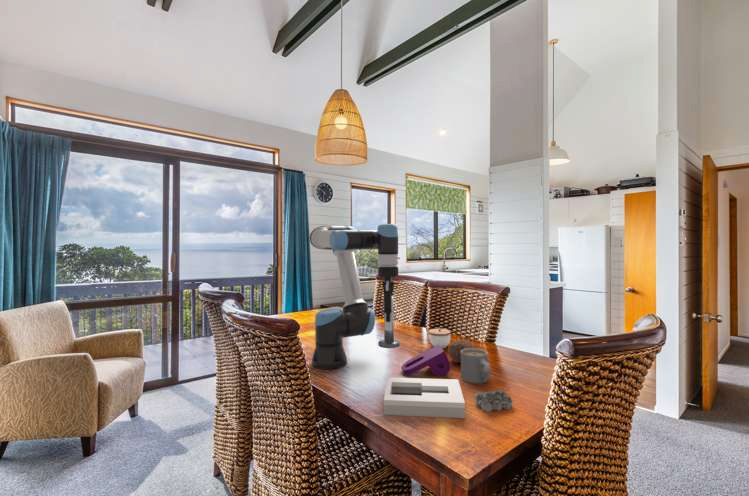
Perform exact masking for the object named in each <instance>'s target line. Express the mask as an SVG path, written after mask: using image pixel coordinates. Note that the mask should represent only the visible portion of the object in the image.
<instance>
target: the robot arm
mask: <svg viewBox="0 0 749 496" xmlns="http://www.w3.org/2000/svg"><path fill="white" fill-rule="evenodd" d="M398 227H399V226H398V225H397V224H396V223H395V224H394V223H379V224H378V226H377V229H374V230H372V229H371V230H370V229H369V230H368V229H367V230H364V229H362V230H361V229H360V230H357V229H356V228H355V227H353V226H352V225H321V226H318V227H314V229H313V230H311V232H310V234H309V238H308V239H309V242H310V245H311V246H312V247H314V248H316V249H319V250H324V251H325V250H326V251H327V250H328V251H329V250H330V251H331V250H332V254H333V255H334V256H335V257H336V260H337V265H338V270H339V271H338V273H339V277H340V281H341V283H340V284H341V287H342V294H343V299H344V305H343V306H342V308H341V307H329V308H325V309H321V310H319V311H317V312H316V314H315V317H314V329H315V330H314V331H315V348H314V350H313V353H312V357H311V366H312V367H314V368H316V369H320V370H332V369H339V368H341V367H344V366H346V364H347V363H348V359H347V358H348V357H347V354H346V351H345V349H344V345H343V339H344V338H350V337H357V336H358V337H359V336H364V335H369V334H371V333H372V332H373V330H374V328H375V325H376V324H375V323H376V315H375V311H374V309H373V308H372V307H369V305H368V302H366V301H365V300H364V296H363V292H362V287H361V281H360V276H359V271H358V266H357V261H356V256H355V255H356V252H357V251H358V250H359V251H361V250H362V251H363V250H367V251H368V250H374V251H375V250H377V265H378V267H377V275H378V277H380V278H384V280H383V281H382V287H383V310H382V314H384V313H385V330H392V296H393V297H394V287H395V281H394V280H393V278H396V277H398V276H399V266H397V265H399V260H400V259H401V257H400V256H399V230H398V229H399V228H398ZM395 308H396V307H394V310H396V309H395Z"/></svg>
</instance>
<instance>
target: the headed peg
mask: <svg viewBox="0 0 749 496" xmlns="http://www.w3.org/2000/svg"><path fill="white" fill-rule="evenodd" d="M394 298H395V297H394V295H393V296H392V330H385V313H383V320H384V321H383V334H384V336H383V337H384V339H381V340H379V341H378V345H377V346H379V347H380V348H383V349H395V348H399V347H400V346H401V342H400V340H398V339H395V316H394V315H395V314H394V313H395V312H394V303H395V302H394Z"/></svg>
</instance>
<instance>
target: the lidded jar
mask: <svg viewBox="0 0 749 496" xmlns="http://www.w3.org/2000/svg"><path fill="white" fill-rule="evenodd" d="M451 335H452V331H451V330H450V329H446V328H441V327H438V328H432V329H429V330H428V336H429V337H428V338H429V342H430V344H431V345H432V347H435V346H436V345H439V346H440V347H441V348H442V349H446V348H447V346H449V344H450V342H451Z"/></svg>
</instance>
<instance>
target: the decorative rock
mask: <svg viewBox="0 0 749 496" xmlns="http://www.w3.org/2000/svg"><path fill="white" fill-rule="evenodd" d="M466 348H476V346H475V345H474V344H473V343H472V342H470V341H469V340H468V339H463V338H462V339H459V340H458V339H457V340H454V341H452V342H451V343H450V345H448V347H447V353H448V354H449V357H450V358H451V359H452V361H453V362H454V363H455V364H456V363H461V350H463V349H466Z"/></svg>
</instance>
